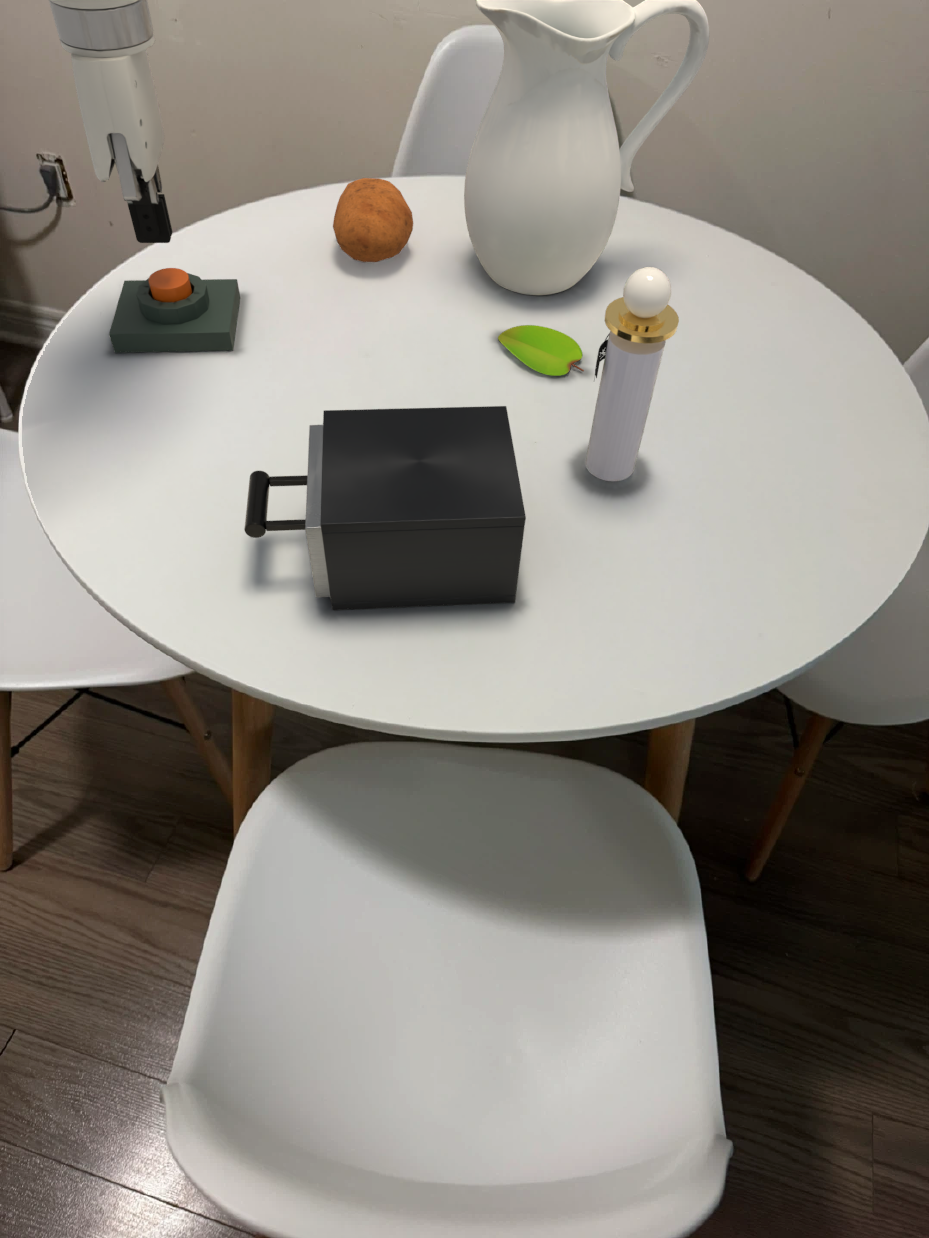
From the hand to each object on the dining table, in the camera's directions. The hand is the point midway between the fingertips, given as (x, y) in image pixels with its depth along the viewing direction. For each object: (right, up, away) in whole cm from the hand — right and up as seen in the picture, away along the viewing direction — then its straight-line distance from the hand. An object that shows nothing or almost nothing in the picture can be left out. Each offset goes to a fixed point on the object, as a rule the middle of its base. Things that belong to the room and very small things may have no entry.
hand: (155, 238), depth 86 cm
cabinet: (+27, -31, -11) cm, 43 cm away
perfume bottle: (+44, -24, -4) cm, 50 cm away
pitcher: (+42, +4, +18) cm, 46 cm away
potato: (+20, +6, +18) cm, 28 cm away
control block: (0, -6, +8) cm, 10 cm away
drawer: (+22, -31, -12) cm, 40 cm away
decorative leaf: (+38, -10, +7) cm, 40 cm away
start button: (0, -3, +5) cm, 6 cm away
